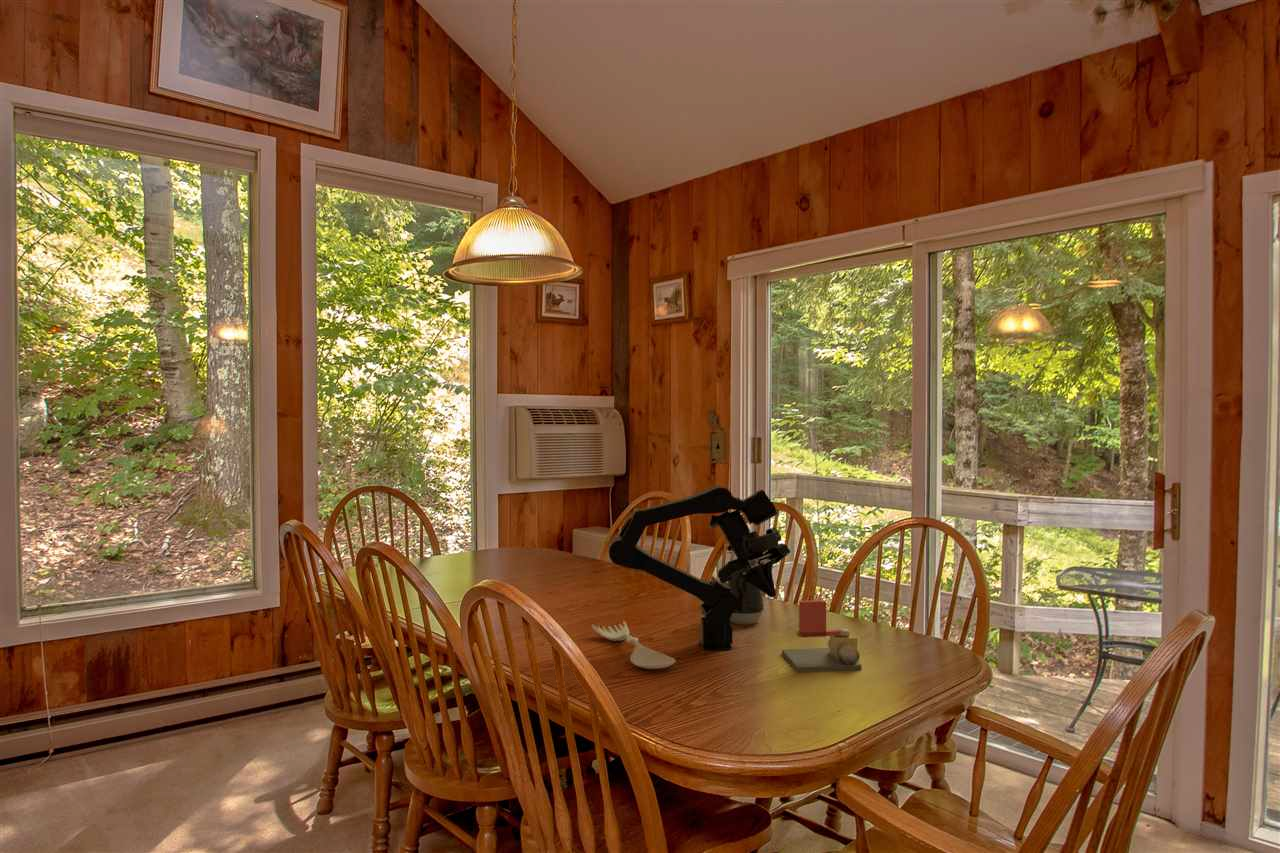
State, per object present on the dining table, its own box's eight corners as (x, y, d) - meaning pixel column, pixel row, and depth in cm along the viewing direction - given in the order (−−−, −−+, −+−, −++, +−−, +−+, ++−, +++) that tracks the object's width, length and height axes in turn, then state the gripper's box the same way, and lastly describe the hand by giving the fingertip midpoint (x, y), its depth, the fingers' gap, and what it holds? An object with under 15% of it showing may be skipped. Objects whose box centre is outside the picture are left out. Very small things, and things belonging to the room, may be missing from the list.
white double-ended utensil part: (624, 632, 191) (624, 618, 191) (683, 672, 162) (683, 656, 162) (590, 637, 187) (590, 623, 187) (643, 679, 158) (643, 662, 158)
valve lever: (846, 633, 168) (846, 598, 168) (850, 636, 165) (850, 601, 165) (796, 635, 167) (796, 600, 166) (799, 638, 164) (799, 603, 164)
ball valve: (840, 665, 162) (840, 641, 162) (826, 652, 171) (826, 629, 171) (861, 664, 162) (861, 641, 162) (845, 651, 171) (845, 628, 171)
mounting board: (798, 672, 161) (798, 667, 161) (781, 654, 173) (781, 649, 173) (861, 669, 162) (861, 664, 162) (840, 651, 174) (840, 647, 174)
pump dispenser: (748, 615, 206) (748, 557, 206) (771, 624, 197) (771, 564, 196) (715, 619, 202) (715, 561, 201) (737, 629, 192) (737, 568, 192)
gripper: (728, 527, 166) (765, 592, 160) (785, 509, 178) (822, 569, 172) (702, 551, 174) (736, 614, 168) (758, 533, 186) (793, 591, 180)
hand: (773, 596), depth 172 cm, fingers closed
